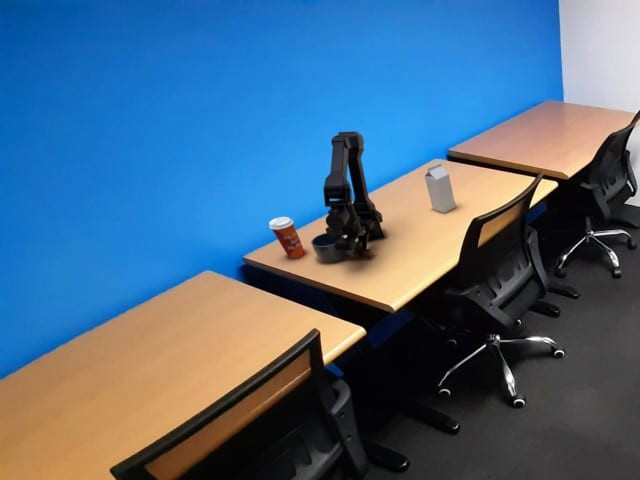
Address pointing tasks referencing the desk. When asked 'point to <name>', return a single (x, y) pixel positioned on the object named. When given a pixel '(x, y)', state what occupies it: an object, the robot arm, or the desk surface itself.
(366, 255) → the dark rectangular block
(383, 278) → the desk surface
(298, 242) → the paper cup
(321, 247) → the dark grey round bowl
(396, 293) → the desk surface
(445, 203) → the milk carton
